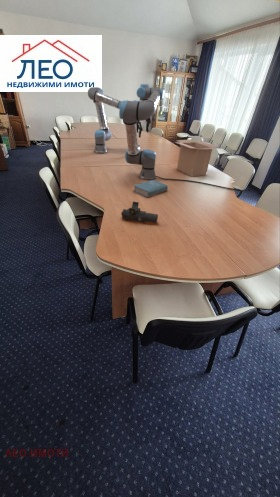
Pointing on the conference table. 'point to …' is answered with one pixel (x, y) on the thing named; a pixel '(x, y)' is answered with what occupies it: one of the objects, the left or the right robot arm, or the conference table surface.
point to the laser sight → (138, 214)
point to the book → (150, 188)
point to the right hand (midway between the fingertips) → (142, 132)
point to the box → (194, 157)
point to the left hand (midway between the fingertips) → (135, 137)
